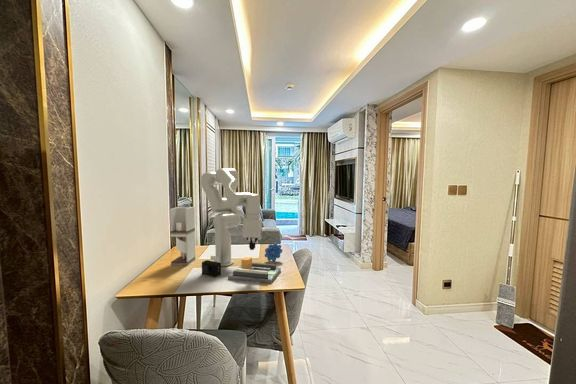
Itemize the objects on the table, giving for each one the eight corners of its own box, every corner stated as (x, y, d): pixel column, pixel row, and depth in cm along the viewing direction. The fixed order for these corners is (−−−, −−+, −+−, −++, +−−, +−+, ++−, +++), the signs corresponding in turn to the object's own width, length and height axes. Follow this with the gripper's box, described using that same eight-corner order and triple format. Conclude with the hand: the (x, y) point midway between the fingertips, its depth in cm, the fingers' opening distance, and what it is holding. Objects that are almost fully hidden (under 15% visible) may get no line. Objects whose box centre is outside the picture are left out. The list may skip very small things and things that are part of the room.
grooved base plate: (232, 275, 136) (232, 269, 136) (245, 265, 151) (245, 259, 151) (266, 278, 131) (266, 272, 131) (276, 268, 146) (276, 262, 146)
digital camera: (200, 275, 142) (199, 262, 141) (207, 271, 147) (207, 259, 146) (213, 278, 137) (213, 265, 136) (221, 275, 142) (220, 262, 141)
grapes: (282, 258, 171) (282, 241, 170) (282, 262, 164) (282, 243, 163) (264, 259, 170) (264, 241, 169) (264, 262, 163) (264, 243, 163)
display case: (179, 259, 170) (178, 206, 168) (195, 259, 169) (194, 206, 168) (171, 265, 158) (169, 208, 157) (188, 265, 158) (187, 208, 157)
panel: (227, 279, 135) (227, 273, 135) (242, 267, 153) (242, 262, 153) (270, 283, 130) (270, 277, 129) (280, 271, 147) (280, 266, 147)
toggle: (239, 271, 141) (239, 259, 140) (243, 268, 145) (243, 256, 145) (250, 272, 139) (250, 260, 139) (253, 269, 144) (253, 257, 144)
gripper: (237, 216, 138) (236, 249, 140) (263, 218, 135) (262, 252, 136) (242, 214, 146) (242, 246, 147) (267, 216, 142) (267, 248, 143)
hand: (252, 249), depth 141 cm, fingers closed
